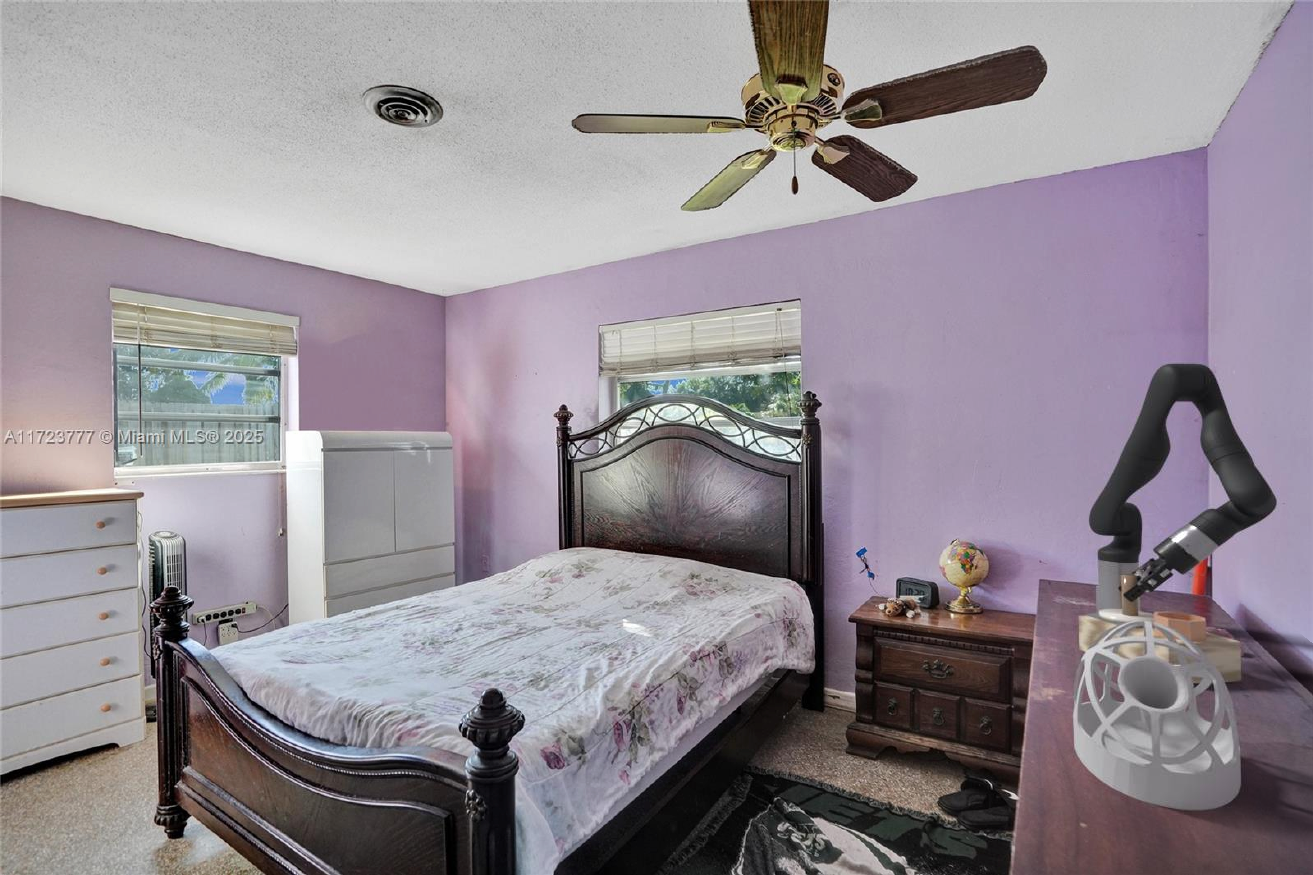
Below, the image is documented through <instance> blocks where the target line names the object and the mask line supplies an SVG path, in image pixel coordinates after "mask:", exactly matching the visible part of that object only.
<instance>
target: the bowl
mask: <svg viewBox="0 0 1313 875" xmlns="http://www.w3.org/2000/svg"><path fill="white" fill-rule="evenodd" d="M1153 614H1154V623H1158V624H1162V625H1165V626H1167V627H1170V628H1172V629H1174V630H1176V631H1178V632H1179V633H1181V634H1183V635H1185V636H1186V637H1187V638H1189V639H1190V640H1191V641H1206V627H1207V621H1206V617H1203V616H1199V615H1195V614H1192V613H1187V612H1185V613H1184V612H1175V611H1153ZM1168 632H1169V631H1168ZM1169 633H1170V632H1169ZM1154 634H1156V635H1160V636H1163V637H1165V636H1164V635H1163V634H1162V633H1161V632H1160V631H1159V630H1158V629H1156V628H1155V627H1154ZM1170 634H1171V635H1172V636H1173V637H1174V638H1175V639H1177V640H1180V639H1179V638H1178V637H1176V636H1175V635H1173V634H1172V633H1170Z"/></svg>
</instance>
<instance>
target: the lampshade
mask: <svg viewBox="0 0 1313 875" xmlns="http://www.w3.org/2000/svg"><path fill="white" fill-rule="evenodd" d="M1142 625H1144V636H1131V637H1126V636H1127V634H1128V633H1129V632H1131V631H1132V630H1133V629H1134V628H1136V627H1138V626H1142ZM1152 626H1153V627H1155V628H1156V629H1158V630H1159V631H1160V632H1161V633H1162V634H1163V635H1164V636H1165V637H1166V638H1167V639H1168V641H1167V640H1163V639H1158V638H1154V637H1153V628H1152ZM1120 631H1121V632H1120ZM1168 631H1169V632H1170V633H1172V634H1173V635H1175V636H1176V637H1178V638H1179V639H1180V640H1181V641H1182V642H1184V643H1185V644H1186V645H1187V646H1188V647H1189V648H1190V649H1191V650H1190V649H1188V648H1186V647H1183V646H1181V645H1179V644H1178V643H1177V641H1176V640H1175V638H1174V637H1173V636H1172V635H1171V634H1170V633H1169V632H1168ZM1118 632H1120V633H1119V635H1118V636H1117V638H1115V639H1112V640H1110V639H1111V638H1112V637H1113V636H1114V635H1116V634H1117V633H1118ZM1105 636H1106V637H1105ZM1104 637H1105V638H1104ZM1103 638H1104V639H1103ZM1101 639H1103V640H1102V641H1101V642H1100V643H1099V644H1098V645H1096V644H1097V643H1098V642H1099V641H1100V640H1101ZM1128 643H1144V656H1140V657H1135V658H1132V659H1126V658H1122V657H1120V656H1118V655H1117V652H1118V649H1119V647H1120V645H1122V644H1128ZM1154 645H1159V646H1164V647H1167V648H1170V649H1173V650H1174V651H1175V653H1176V655H1177V657H1178V659H1179V662H1180V665H1172V664H1171V663H1169V662H1167V661H1165V660H1163V659H1160V658H1159V657H1157V656H1156V654H1155V647H1154ZM1109 648H1111V650H1110V651H1108V650H1106V649H1109ZM1184 655H1186V656H1188V657H1190V658H1192V659H1194V660H1195V661H1197V662H1198V663H1193V664H1188V663H1187V660H1186V658H1185V656H1184ZM1099 663H1103V664H1104V665H1105V664H1106V665H1105V670H1104V671H1103V670H1102V669H1101V667H1100V665H1099ZM1083 667H1084V669H1083ZM1114 667H1116V668H1119V672H1118V676H1117V683H1115V682H1114V681H1113V680H1112V677H1113V676H1112V675H1113V671H1114V670H1113V669H1114ZM1082 670H1083V673H1082ZM1081 673H1082V675H1081ZM1094 673H1095V674H1096V676H1098V678H1100V679H1101V680H1102V681H1103V686H1102V687H1103V689H1102V690H1103V692H1102V696H1101V698H1100V699H1099V697H1098V694H1097V690H1096V685H1095V675H1094ZM1080 677H1081V678H1080ZM1192 677H1204V678H1203V679H1202V681H1201V682H1200V683H1198V684H1197V685H1196V686H1195V685H1194V684H1195V683H1193V680H1192ZM1079 680H1080V682H1079ZM1212 684H1213V689H1214V701H1215V702H1214V703H1215V705H1214V712H1213V717H1212V720H1211V721H1208V720H1206V719H1205V718H1203V717H1202V716H1201V715H1200V714H1199V712H1198V705H1197V696H1198V695H1200V694H1201V693H1204V691H1206V690H1207V689H1209V687H1210V686H1211V685H1212ZM1085 687H1086V690H1087V694H1088V697H1089V699H1090V701H1085V702H1083V701H1082V700H1083V697H1084V696H1083V695H1084V690H1085ZM1111 688H1112V689H1114V690H1115V691H1116V692H1118V693H1120V694H1122V696H1123V698H1124V700H1123V702H1121V701H1118V700H1117V701H1116V700H1115V699H1114V698H1113V697H1112V695H1111ZM1073 702H1074V704H1073V705H1074V706H1073V707H1074V708H1073V712H1072V717H1073V718H1072V720H1073V745H1074V746H1073V747H1074V750H1075V752H1076V755H1077V758H1079V760H1080V761H1081V763H1082V764H1083V765H1084V767H1086V769H1087V770H1088V771H1089V772H1090V773H1091V774H1092V775H1094V776H1095V777H1096V778H1097V779H1098V780H1099V781H1101V782H1102V783H1104V784H1106V785H1107V786H1109V787H1110V788H1111V789H1114V790H1116V791H1118V792H1120V793H1122V794H1124V795H1126V796H1129V797H1131V798H1133V799H1136V800H1139V801H1141V802H1144V803H1147V804H1152V805H1156V806H1159V807H1164V808H1168V809H1175V810H1183V811H1184V810H1185V811H1207V810H1213V809H1217V808H1220V807H1223V806H1225V805H1227V804H1230V803H1231V802H1232V801H1233V800H1234V799H1235V798H1236V797H1237V796H1238V794H1239V793H1240V789H1241V786H1242V774H1241V772H1242V771H1241V770H1242V769H1241V768H1242V767H1241V766H1242V765H1241V746H1240V742H1239V741H1240V740H1239V733H1238V732H1239V731H1238V727H1237V722H1236V713H1235V706H1234V703H1233V699H1232V697H1231V695H1230V691H1229V689H1228V687H1227V684H1226V682H1225V681H1224V679H1223V677H1222V676H1221V674H1220V673H1219V671H1218V669H1217V668H1216V667H1215V665H1214V664H1213V663H1212V662H1211V660H1210V659H1209V658H1208V656H1207V655H1206V654H1205V653H1204V652H1203V651H1202V650H1201V649H1200V648H1199V647H1198V646H1197V645H1196V644H1195V643H1194V642H1192V641H1191V640H1190V639H1189V638H1187V637H1186V636H1185V635H1183V634H1181V633H1179V632H1178V631H1176V630H1174V629H1172V628H1170V627H1167V626H1165V625H1162V624H1158V623H1154V622H1149V621H1131V622H1127V623H1123V624H1119V625H1116V626H1114V627H1112V628H1110V629H1108V630H1107V631H1105V632H1104V633H1102V634H1101V635H1100V636H1099V637H1098V638H1097V639H1096V640H1095V641H1094V642H1093V643H1092V644H1091V645H1090V647H1089V648H1088V649H1087V651H1086V652H1085V651H1084V654H1083V655H1082V657H1081V660H1080V662H1079V664H1078V666H1077V670H1076V673H1075V676H1074V682H1073ZM1187 708H1188V709H1187ZM1225 711H1226V713H1225ZM1225 714H1227V717H1228V718H1227V719H1228V722H1229V727H1228V729H1226V728H1223V727H1222V725H1223V722H1224V718H1225Z"/></svg>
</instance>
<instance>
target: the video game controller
mask: <svg viewBox="0 0 1313 875" xmlns="http://www.w3.org/2000/svg"><path fill="white" fill-rule="evenodd" d="M1206 632H1207V633H1211V634H1214V635H1218V636H1222V637H1225V638H1229V639H1232V640H1236V639H1235V637H1234V635H1233V634H1232V633H1230V632H1229V631H1227V629H1225V628H1223V629H1221V628H1216V627H1214V626H1206ZM1240 655H1241V656H1242V657H1243V656H1244V655H1245V652H1244V649H1243V647H1242V646H1241V645H1240Z"/></svg>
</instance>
